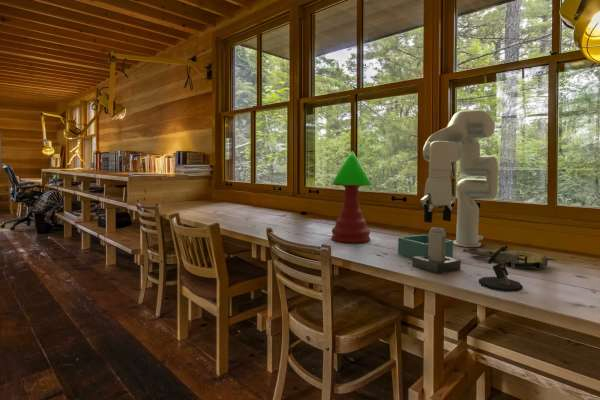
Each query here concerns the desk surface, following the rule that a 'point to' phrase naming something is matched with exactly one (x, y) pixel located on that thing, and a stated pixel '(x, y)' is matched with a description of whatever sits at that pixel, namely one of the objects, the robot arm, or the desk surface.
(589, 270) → the desk surface
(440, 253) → the energy drink can
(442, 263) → the steel collar
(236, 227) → the desk surface
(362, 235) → the table lamp
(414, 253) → the teal bin
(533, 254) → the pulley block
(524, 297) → the desk surface
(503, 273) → the gun turret
